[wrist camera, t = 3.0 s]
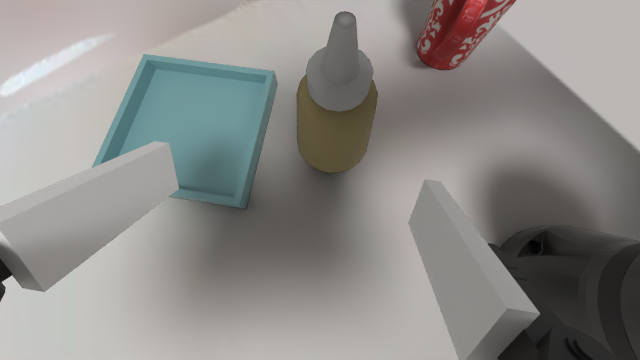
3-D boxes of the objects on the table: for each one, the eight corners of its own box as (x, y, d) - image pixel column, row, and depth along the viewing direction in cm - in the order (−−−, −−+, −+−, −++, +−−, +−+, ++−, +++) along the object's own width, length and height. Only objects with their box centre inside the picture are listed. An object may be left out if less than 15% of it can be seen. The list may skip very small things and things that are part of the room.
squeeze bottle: (375, 151, 30) (452, 18, 12) (332, 195, 28) (349, 114, 11) (330, 112, 31) (341, -54, 14) (286, 152, 30) (238, 20, 12)
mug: (424, 17, 36) (483, -113, 23) (480, 41, 34) (577, -83, 21) (389, 76, 33) (433, -35, 20) (448, 104, 31) (538, 5, 18)
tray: (277, 84, 32) (274, 71, 30) (246, 209, 28) (239, 205, 25) (156, 67, 33) (143, 54, 31) (105, 186, 28) (85, 180, 26)
